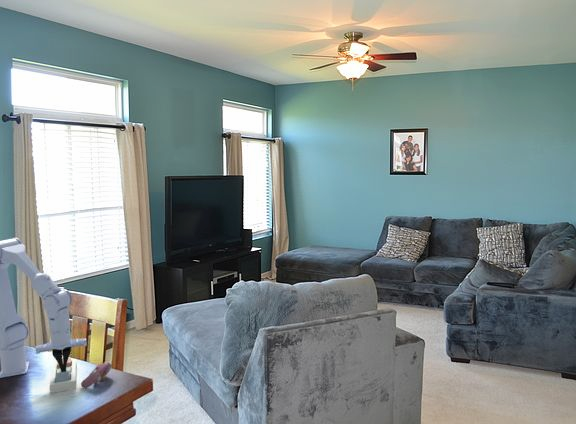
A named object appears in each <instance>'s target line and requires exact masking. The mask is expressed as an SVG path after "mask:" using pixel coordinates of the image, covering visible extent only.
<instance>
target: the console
mask: <svg viewBox="0 0 576 424" xmlns="http://www.w3.org/2000/svg"><path fill="white" fill-rule="evenodd" d="M69 367H71V373H70V380H68V381H62V382H57V383H56V382H55V376H56V373H57V369H60V368H57V361H55V362H52V368H51V374H50V382H49V391H50V392H49V393H50V394H54V393H59V392H65V391H70V390H76V389H77V367H78V366H77V358H73V359H72V358H71V366H69ZM66 368H68V367H66Z"/></svg>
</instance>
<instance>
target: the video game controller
mask: <svg viewBox="0 0 576 424" xmlns="http://www.w3.org/2000/svg"><path fill="white" fill-rule="evenodd" d="M112 367H113V364H112V363H110V362H107V361H104V362H101V363H98V364H97V365H96V366H95V367H94V369H93V370H92V371H91V372H90V373H89V375H87V376H86V377H85V378H84V380H82V381H81V383H80V387H81V388H82V389H88V388H90V387H91V386H93V385H95V386H97V385H98V384H99V383H100V381H103V380H104V379H106V376H107V375H108V374H109V372H111V371H110V370H112Z"/></svg>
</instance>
